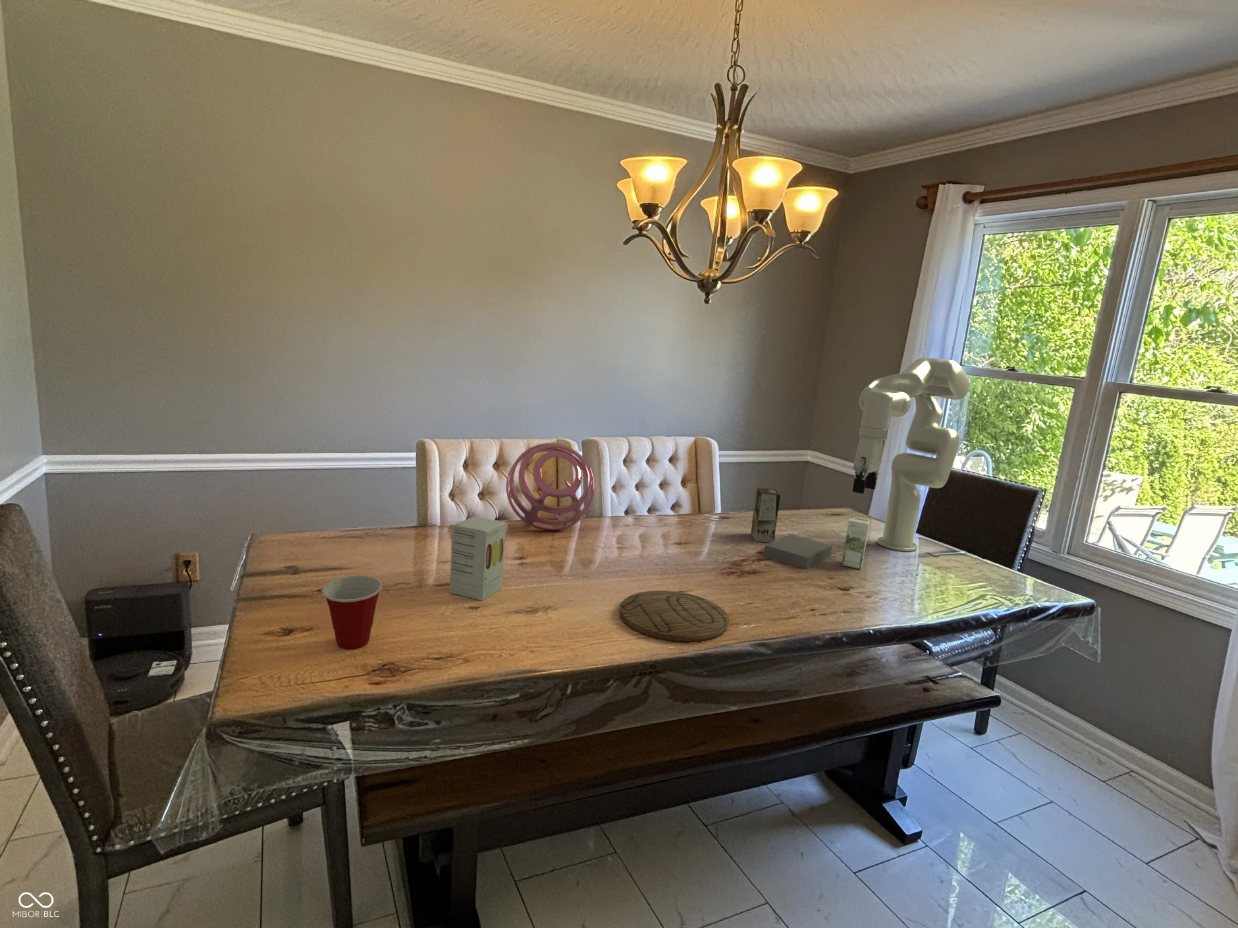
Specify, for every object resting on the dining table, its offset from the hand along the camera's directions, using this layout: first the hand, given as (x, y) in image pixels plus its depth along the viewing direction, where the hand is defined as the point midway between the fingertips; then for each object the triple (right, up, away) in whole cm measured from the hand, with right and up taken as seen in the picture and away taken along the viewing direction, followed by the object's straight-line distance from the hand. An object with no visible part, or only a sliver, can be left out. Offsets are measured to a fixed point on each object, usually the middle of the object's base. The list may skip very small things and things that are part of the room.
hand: (863, 490), depth 201 cm
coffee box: (-25, -17, +25) cm, 39 cm away
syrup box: (-2, -23, +5) cm, 24 cm away
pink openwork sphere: (-95, -13, +16) cm, 97 cm away
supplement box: (-106, -23, -38) cm, 115 cm away
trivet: (-60, -28, -44) cm, 79 cm away
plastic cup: (-124, -27, -68) cm, 144 cm away
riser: (-17, -21, +9) cm, 29 cm away
